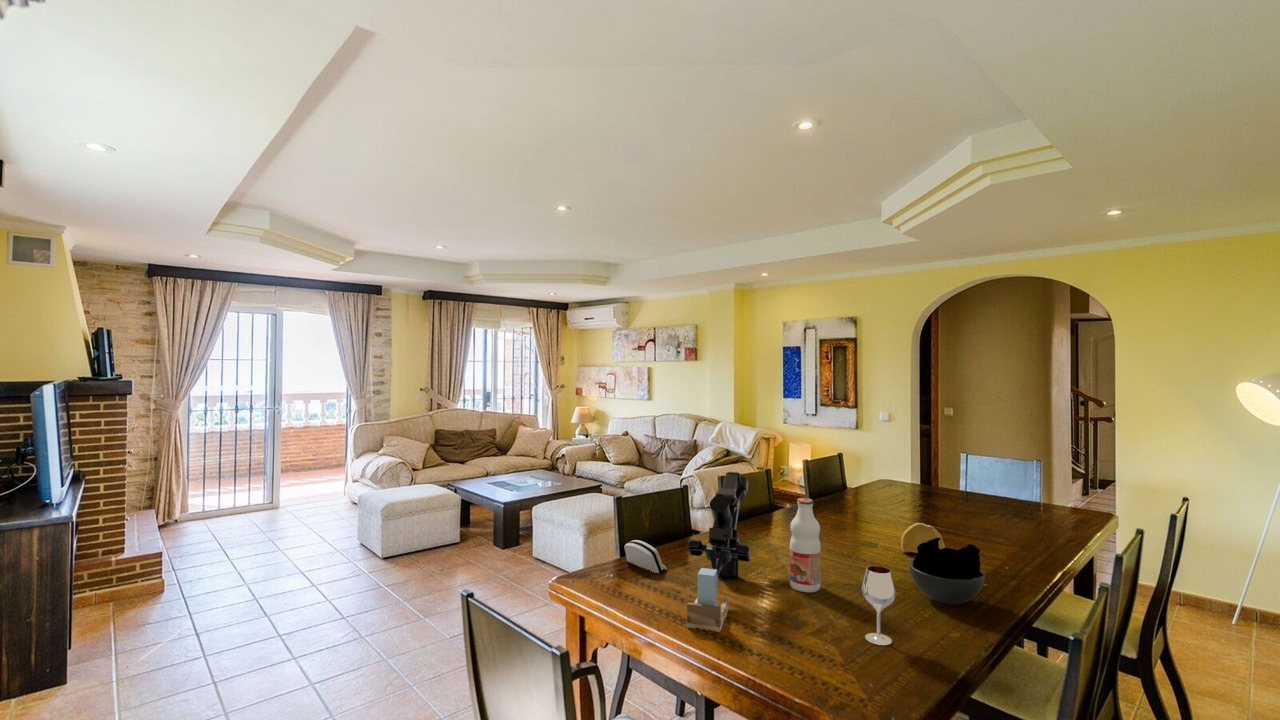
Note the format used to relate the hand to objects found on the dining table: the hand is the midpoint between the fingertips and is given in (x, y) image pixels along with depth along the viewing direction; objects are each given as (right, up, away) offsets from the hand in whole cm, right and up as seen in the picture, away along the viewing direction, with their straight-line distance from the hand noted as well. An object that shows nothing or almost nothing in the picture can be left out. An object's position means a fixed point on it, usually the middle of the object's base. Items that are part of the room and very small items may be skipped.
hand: (715, 576), depth 171 cm
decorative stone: (+86, -10, +49) cm, 99 cm away
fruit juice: (+30, -9, +13) cm, 34 cm away
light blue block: (-4, -6, -12) cm, 14 cm away
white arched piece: (-21, -9, +32) cm, 39 cm away
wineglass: (+39, -8, -22) cm, 46 cm away
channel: (-3, -8, -10) cm, 13 cm away
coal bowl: (+70, -9, +2) cm, 70 cm away
